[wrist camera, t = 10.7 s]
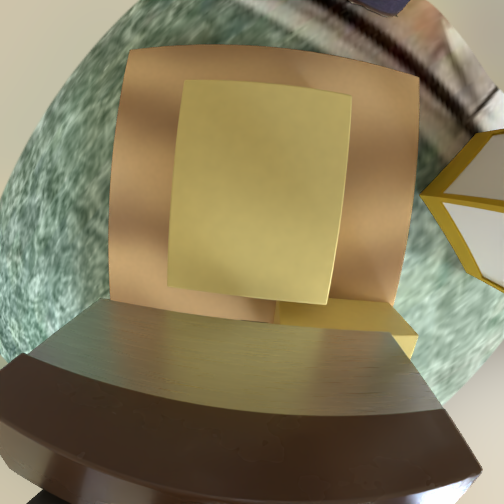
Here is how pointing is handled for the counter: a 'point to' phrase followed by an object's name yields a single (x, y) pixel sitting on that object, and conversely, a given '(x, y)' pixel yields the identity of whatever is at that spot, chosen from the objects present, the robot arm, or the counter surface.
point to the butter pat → (348, 318)
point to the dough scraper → (226, 414)
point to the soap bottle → (473, 206)
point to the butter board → (356, 185)
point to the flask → (383, 6)
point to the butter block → (258, 189)
